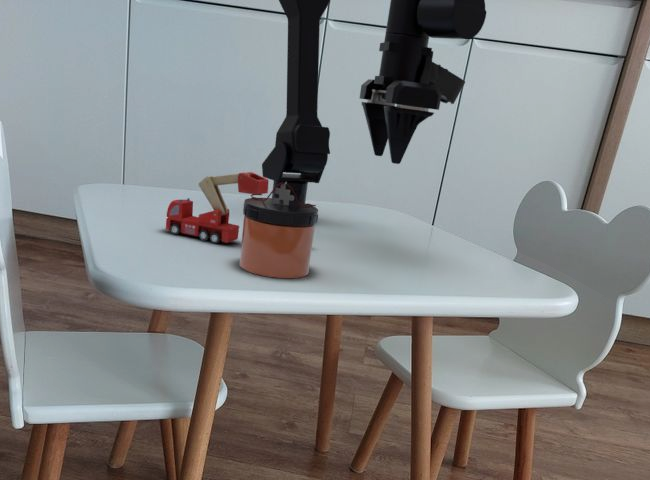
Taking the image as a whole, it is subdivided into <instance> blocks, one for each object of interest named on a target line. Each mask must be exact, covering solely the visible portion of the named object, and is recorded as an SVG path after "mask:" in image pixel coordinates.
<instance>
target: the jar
mask: <svg viewBox="0 0 650 480" xmlns="http://www.w3.org/2000/svg"><path fill="white" fill-rule="evenodd" d="M242 225H243V226H242V236H241V243H240V254H239V255H240V256H239V267H240V268H241V269H242V270H244V271H246V272H248V273H251V274H255V275H258V276H263V277H267V278H268V277H269V278H275V279H276V278H277V279H298V278H303V277H306V276H308V274H310V273H309V271H310V265H311V258H312V257H311V256H312V249H313V242H314V236H315V235H314V234H315V228H316V224H313V225H308V226H290V225H280V224H273V223H267V222H262V221H258V220H255V219H252V218H249V217H247V216H245V215H244V214H243V224H242Z"/></svg>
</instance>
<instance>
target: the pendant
mask: <svg viewBox="0 0 650 480" xmlns="http://www.w3.org/2000/svg"><path fill="white" fill-rule="evenodd" d="M286 183H287V182H286ZM286 183H280V184H278V185H277V186H276V187H275V188H274V189H273V188H272V190H271V192H270V193H269V195H267V197H265V198H266V199H265V200H264V199H261V198H262V197H256V196H263V194H250V198H255V199H261V200H263V201H266V200H267V199H268V198H271V196H272V192H273V191H274V190H275V194H279V198H274V203H275V204H279V200H281V199H282V200H283V201H284V204H283V205H289V200H290V201H293V200H294V196H290V190H286V189H285V188H286V186H285V185H287V186H288V187H289V188H290V189H291V190H292V191H293V189H292V188H291V187H290V186H289V185H288V184H286ZM281 184H282V185H281ZM279 185H281V189H279V188H277V187H278V186H279ZM293 193H294V195H295V198H296V201H297V203H298V200H297V197H296V194H295V192H294V191H293ZM298 205H299V206H305V205H311V206H314V207H316V206H317V205H316V204H313V203H312V204H311V203H305V204H304V205H300V204H299V203H298Z"/></svg>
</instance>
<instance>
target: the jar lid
mask: <svg viewBox="0 0 650 480" xmlns="http://www.w3.org/2000/svg"><path fill="white" fill-rule="evenodd" d="M260 198H261V199H264V200H265V199H266V198H267V197H260ZM261 199H255V198H252V197H250V198H249V197H248V198H245V199H244V203H243V209H242V211H243V212H242V213H243V214H242V215H243V216H244V215H245V216H247V217H249V218H252V219H255V220H258V221H262V222H267V223H273V224H280V225H290V226H308V225H313V224H315V225H316V224H317V223H318V220H319V209H318V208H317V207H316V206H311V205H305V206H299V205H298V203H299V204H300V205H304V204H306V202H305V203H301V202H298V203H297V202H296V201H290V200H289V205H283V204H284V201H283V200H282V199H281V200H279V204H275V203H274V198H272V197H269V198H268V199H267V200H266V201H263V200H261Z"/></svg>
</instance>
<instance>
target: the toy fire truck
mask: <svg viewBox="0 0 650 480" xmlns="http://www.w3.org/2000/svg"><path fill="white" fill-rule="evenodd" d="M235 184H237V191H238V193H242V194H248V195H252V194H262V195H263V194H265V195H266V194H268V193H269V179H268V178H265V177H263V175H259V174H258V173H255V172H252V171H249V172H248V171H247V172H239V173H234V174H225V175H224V174H223V175H216V176H214V175H210V176H205V177H204V178H203V179H202V180H200V181H199V182H198V187H199V188H200V190H201V192H202V193H203V195H204V197H205V199H206V200H207V201H208V203H209V205H210V206H211V208H212V209H213V210H211V211H207V212H203V213H200V214H198V216H195V215H194V214H193V213H194V201H193V200H191V199H190V198H189V197H187V199H174V200H172V201H171V202H170V203H169V205H168V207H167V210H166V217H167V218H166V221H165V230H166V231H170V232H171V234H172V235H179V234H180V233H181V234H184V235H188V236H193V237H199V239H200V240H201V241H203V242H204V241H208V240H209V239H210V242H212V243H213V244H218V243H220V242H222V243H225V244H228V243H231V242H234V241H236V240H238V239H239V232H240V231H239V229H240V225H239V224H235V223H234V224H233V223H229V220H230V209H229V208H228V207H227V204H226V202H225V199H224V197H223V195H222V191H221V190H220V188H219V187H220V186H224V185H225V186H226V185H235Z"/></svg>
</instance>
